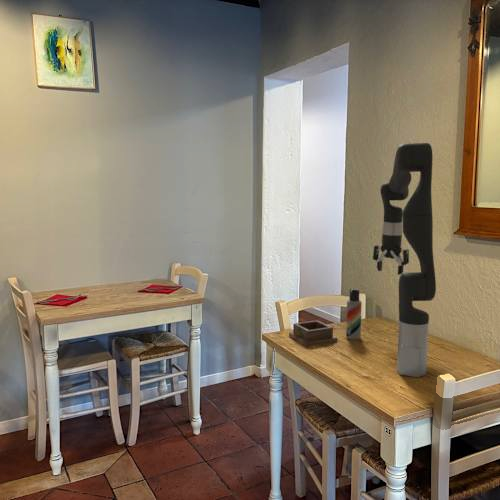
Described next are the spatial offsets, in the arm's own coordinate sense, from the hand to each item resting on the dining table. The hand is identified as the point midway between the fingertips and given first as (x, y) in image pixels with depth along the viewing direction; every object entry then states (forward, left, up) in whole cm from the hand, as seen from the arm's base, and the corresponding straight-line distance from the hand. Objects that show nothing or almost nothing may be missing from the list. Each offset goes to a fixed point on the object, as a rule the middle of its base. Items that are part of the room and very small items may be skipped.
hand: (389, 272), depth 195 cm
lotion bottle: (-10, +12, -26) cm, 30 cm away
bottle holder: (-19, +26, -26) cm, 41 cm away
